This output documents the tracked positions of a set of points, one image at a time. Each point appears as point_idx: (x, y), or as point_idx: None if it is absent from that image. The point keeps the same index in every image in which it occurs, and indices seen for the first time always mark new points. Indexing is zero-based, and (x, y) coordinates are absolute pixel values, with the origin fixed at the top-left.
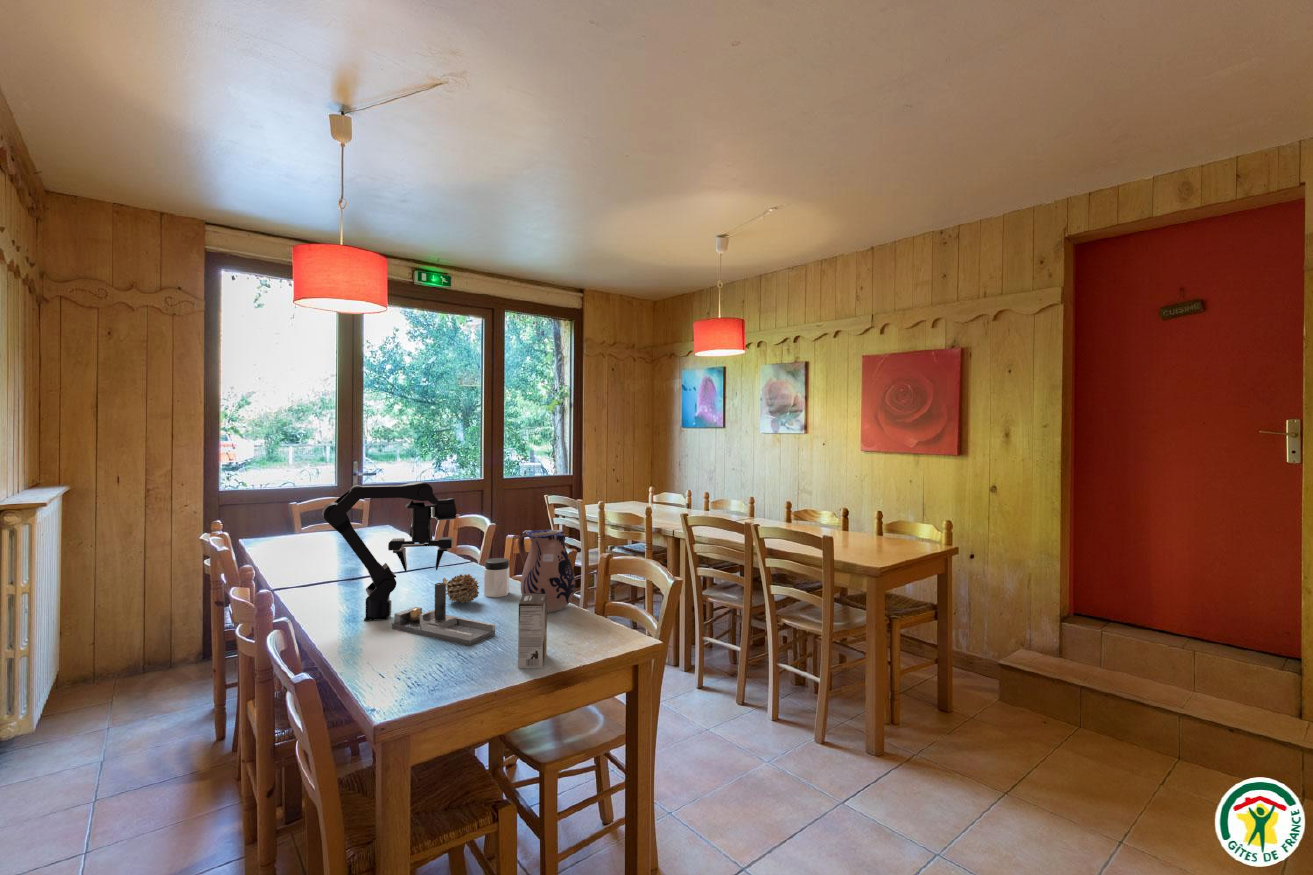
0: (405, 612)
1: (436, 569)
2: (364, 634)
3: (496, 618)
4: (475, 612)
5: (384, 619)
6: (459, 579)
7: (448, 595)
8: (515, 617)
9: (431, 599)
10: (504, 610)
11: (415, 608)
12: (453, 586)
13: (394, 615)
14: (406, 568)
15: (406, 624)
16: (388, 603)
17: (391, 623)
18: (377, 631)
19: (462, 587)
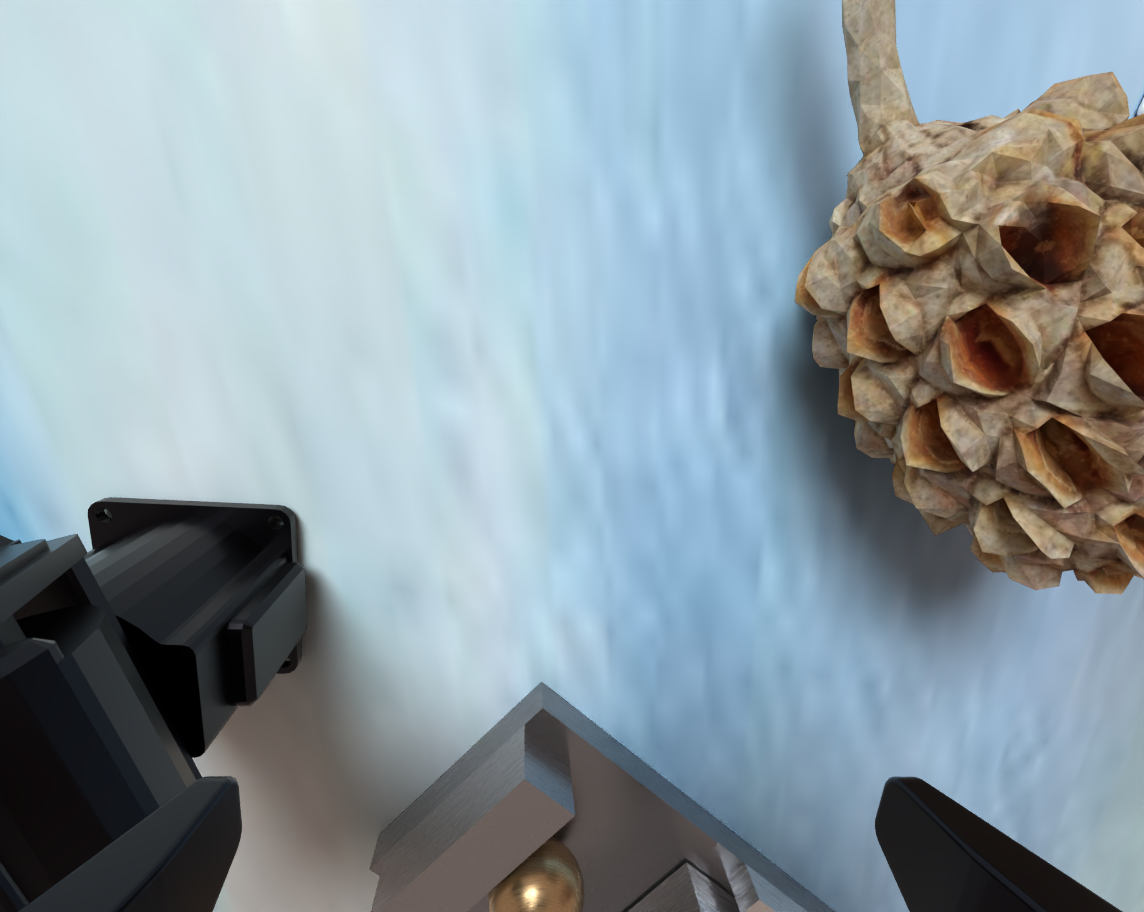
0: (453, 903)
1: (896, 857)
2: (228, 906)
3: (1031, 762)
4: (939, 614)
5: (283, 668)
6: (1091, 450)
7: (818, 348)
8: (1140, 764)
9: (624, 86)
10: (1133, 611)
11: (522, 819)
12: (936, 390)
13: (373, 907)
14: (203, 872)
15: (478, 902)
16: (245, 702)
17: (370, 869)
18: (299, 870)
19: (1023, 572)
